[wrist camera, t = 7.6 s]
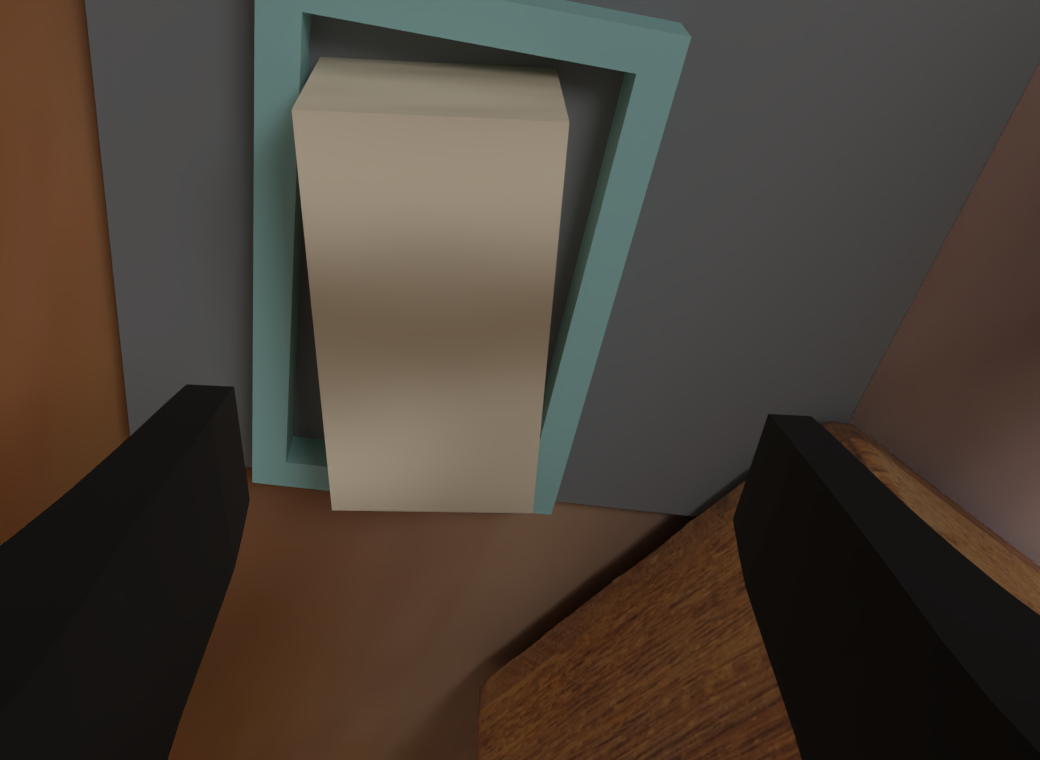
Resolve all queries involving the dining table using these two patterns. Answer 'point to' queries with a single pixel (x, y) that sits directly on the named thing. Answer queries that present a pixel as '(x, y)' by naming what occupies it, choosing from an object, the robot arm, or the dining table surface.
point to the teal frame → (606, 241)
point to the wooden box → (690, 645)
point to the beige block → (431, 276)
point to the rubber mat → (659, 230)
